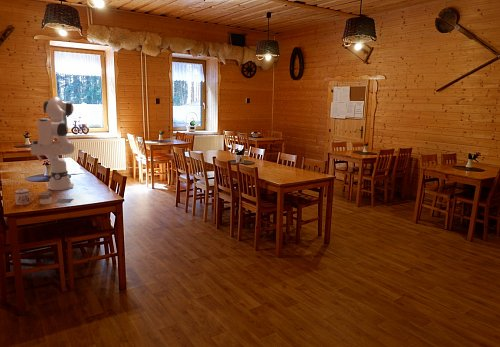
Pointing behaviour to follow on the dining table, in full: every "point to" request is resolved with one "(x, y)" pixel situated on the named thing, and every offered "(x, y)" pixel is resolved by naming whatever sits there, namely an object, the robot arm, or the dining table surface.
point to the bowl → (45, 201)
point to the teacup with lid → (22, 196)
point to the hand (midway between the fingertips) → (47, 160)
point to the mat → (64, 200)
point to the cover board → (45, 195)
